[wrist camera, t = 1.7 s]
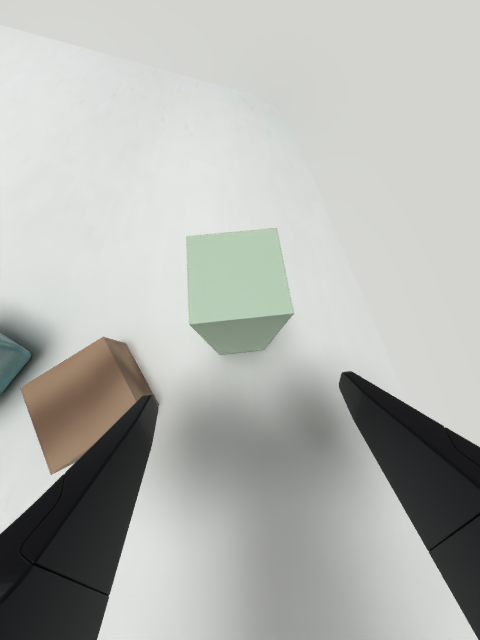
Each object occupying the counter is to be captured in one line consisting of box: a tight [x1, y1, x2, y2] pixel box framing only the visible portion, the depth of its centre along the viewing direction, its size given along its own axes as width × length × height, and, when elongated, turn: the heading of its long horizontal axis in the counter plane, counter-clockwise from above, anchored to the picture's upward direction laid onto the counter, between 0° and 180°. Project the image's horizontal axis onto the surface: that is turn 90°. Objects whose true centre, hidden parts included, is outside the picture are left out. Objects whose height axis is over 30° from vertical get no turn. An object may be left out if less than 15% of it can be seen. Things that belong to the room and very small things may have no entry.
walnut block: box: [20, 337, 159, 475], centre depth 19 cm, size 8×8×4 cm
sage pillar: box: [186, 228, 294, 355], centre depth 16 cm, size 5×5×13 cm
